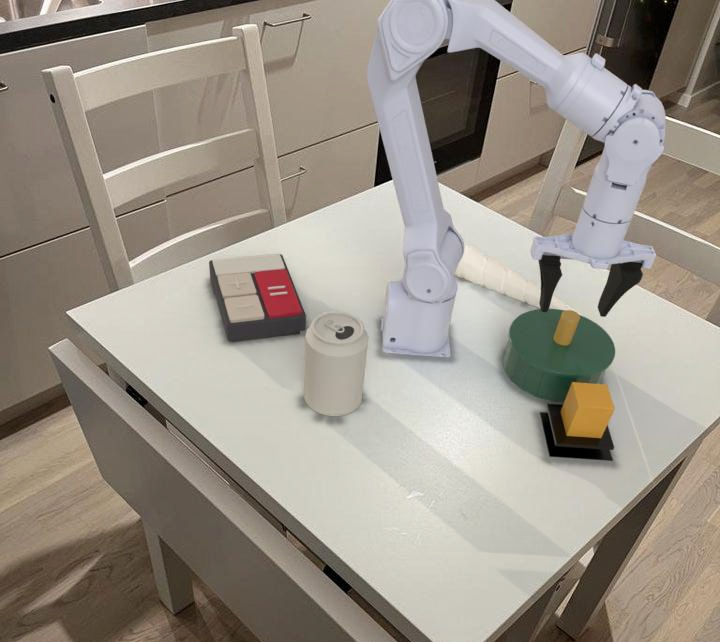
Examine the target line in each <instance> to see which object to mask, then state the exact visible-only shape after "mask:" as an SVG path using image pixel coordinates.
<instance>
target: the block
mask: <svg viewBox="0 0 720 642" xmlns="http://www.w3.org/2000/svg"><path fill="white" fill-rule="evenodd" d="M562 405H563V407H562V409H561V415H562V420H563V424H564V428H565V432H566V436H575V437H589V438H602V435H603V433H604V431H605V429H606V427H607V425H608V426H609V422H610V420H611V418H612V416H613V414H614V411H615V409H616V408H615V405H614V402H613V399H612V396H611V392H610V389H609V386H608V384H604V383H600V384H592V383H578V382H572V384H571V386H570V389H569V391H568V394H567V397H566V399H565V402H563V404H562Z"/></svg>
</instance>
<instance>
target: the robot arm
mask: <svg viewBox="0 0 720 642" xmlns="http://www.w3.org/2000/svg"><path fill="white" fill-rule="evenodd" d="M445 40H449V42H448V47H447V50H446V51H447V53H455V52H461V51H466V50H472V49H477V48H479V49H481V50H483V51H484V52H486V53H487V54H490V55H491V56H493V57H495V58H496V59H498V60H499V61H501V62H503V63H504V64H505V65H507V66H509V67H510V68H512V69H514V70H515V71H516V72H519V73H520V74H521V75H523V76H525V77H527V78H528V79H529V80H531V81H533V82H534V83H536V84H537V85H539V86H541V87H543V89H544V92H545V99H546V105H547V108H549V109H551V110H552V111H554V112H555V113H556V114H558V115H560V117H562V118H564V119H565V120H567V121H568V122H569V123H571V124H572V125H573V126H575V127H576V128H578V129H579V130H581V131H582V132H583V133H585V134H586V135H587V136H589V137H591V138H592V139H594V140H596V141H599V142H601V143H603V144H604V147H603V150H602V153H601V156H600V159H599V161H598V163H597V164H596V166H595V168H594V171H593V174H592V176H591V179H590V183H589V185H588V188H587V191H586V195H585V197H584V200H583V204H582V207H581V210H580V213H579V216H578V220H577V222H576V225H575V229H574V232H573V233H567V234H560V235H558V234H557V235H551V236H534V237H533V240H532V243H531V247H530V250H529V251H530V255H531V259H532V260H535V261H536V260H537V261H538V266H539V275H540V288H541V295H540V302H539V304H540V308H541V312H547V311H548V309H549V307H550V303H551V300H552V296H554V293H555V290H556V288H557V286H558V284H559V282H560V281H561V278H562V277H563V272H562V269H561V267H562V261H561V260H572V261H578V262H581V263H585V264H589V265H590V267H591V268H592V269H597V270H607V269H609V272H608V276H607V280H606V283H605V285H604V288H603V290H602V292H601V295H600V297H599V300H598V303H597V310H598V313H599V316H600V317H602V318H606V317H607V315H608V314H609V312H611V310H612V309H613V307H614V306H615V305H616V304H617V303H618V301H619V300H620V299H621V298H622V297H623V296H624V295H626V293H627V292H628V291H629V290H631V289H632V288H634V287H635V286H637V285H638V284H640V283H641V280H642V279H643V276H644V273H643V271H642V269H648V270H650V269H651V268H652V267H653V264H654V261H655V259H656V258H657V254H656V251H655V249H654V247H653V246H652V245H646V244H639V243H635V242H632V241H628V240H625V238H626V235H627V232H628V230H629V227H630V224H631V222H632V219H633V217H634V214H635V212H636V210H637V206H638V204H639V201H640V198H641V196H642V194H643V191H644V189H645V186H646V183H647V180H648V173H649V171H651V168H652V165H653V164H654V163H655V162H656V161H657V160H658V159H659V158H660V157H661V155H662V154H663V152H664V150H665V146H664V143H665V140H666V122H667V121H666V119H667V118H666V111H665V106H664V105H663V103H662V101H661V100H660V99H659V98H658V97H657V96H656V93H655V92H654V91H652V90H648V89H643V88H642V87H641V86H639V85H638V84H637V83H635V84H633V85H632V86H631V85H629V84H627V83H626V82H625V81H624V80H623V79H621V78H619V77H618V76H616V75H615V74H614V73H612V72H611V71H609V70H608V68H607V69H606V67H605V66H606V58H604V57H603V56H601V54H599V53H594V54H593V56H592V57H590V56H589V55H588V54H586V53H585V52H577V53H572V54H569V55H568V54H567V55H563V54H562V53H561V52H560V51H559V50H557V49H556V48H555V47H553V46H552V45H551V44H549V42H548V41H546V40H545V39H544V38H542V37H541V36H540V35H539V34H537V33H536V32H535V31H533V30H532V29H531V28H530V27H529V26H528V25H526V24H525V23H524V22H523V21H521V19H519V18H517V17H516V16H515V15H514V14H513V13H512V12H510V11H509V10H508V9H506V8H505V7H504V6H503V5H502V4H500V3H499V2H498V1H497V0H390V1H389V2H388V4H387V5H386V7H385V8H384V9H383V11H382V13H381V14H380V16H379V17H378V18H377V28H376V33H375V38H374V42H373V46H372V49H371V53H370V57H369V61H368V65H367V67H366V81H367V84H368V89H369V92H370V96H371V101H372V104H373V109H374V111H375V116H376V120H377V124H378V128H379V132H380V136H381V140H382V143H383V147H384V151H385V155H386V159H387V163H388V167H389V171H390V176H391V178H392V179H391V180H392V184H393V187H394V190H395V194H396V198H397V202H398V206H399V211H400V215H401V219H402V221H403V226H404V229H403V231H404V233H403V242H402V243H403V244H402V255H403V260H404V269H403V273H402V278H401V279H396V280H388V281H387V284H386V291H385V299H384V304H383V305H384V306H383V315H382V317H381V319H380V331H381V332H382V352H383V353H388V354H402V355H412V356H413V355H414V356H428V357H429V356H430V357H441V358H449V357H451V355H452V354H451V346H450V336H449V330H450V326H451V320H452V315H453V311H454V306H455V302H456V296H457V292H458V283H457V280H456V276H455V275H454V274H455V272H456V269H457V266H458V264H459V262H460V261H461V258H462V257H463V254H464V247H465V241H464V239H463V236H462V235H461V234H460V232H459V231H458V230H457V229H456V227H455V226H454V224H453V219H452V215H451V214H450V213H449V212H448V211H447V210H446V209H445V207H444V204H443V199H442V195H441V190H440V185H439V181H438V175H437V172H436V166H435V162H434V157H433V152H432V148H431V143H430V138H429V134H428V130H427V129H428V128H427V125H426V119H425V116H424V111H423V106H422V101H421V97H420V96H421V95H420V92H419V88H418V83H417V78H416V76H417V74H418V72H419V70H420V68H421V67H422V65H423V63H424V62H425V61H426V60H427V59H429V57H431V55H433V54H434V53H435V52H436V51H437V50H438V49H439V48H440V47H441V46H442V44H443V43H444V41H445ZM609 267H610V268H609ZM540 308H539V309H540Z"/></svg>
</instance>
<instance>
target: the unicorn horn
mask: <svg viewBox="0 0 720 642" xmlns="http://www.w3.org/2000/svg"><path fill="white" fill-rule="evenodd" d="M454 277H457V278H460V279H464V280H465V281H467V282H470V283H473V284H476V285H478V286H481V287H485V288H486V289H487V290H488V289H489V290H491V291H494V292H497V293H499V294H502V295H506V297H509V298H512V299H515V300H517V301H520V302H522V303H526V304H528V305H530V306H532V307H535V308H537V309H541V308H540V304H539V302H540V295H541V287H539V286H538V285H536V284H535V283H533V282H531V281H529V280H526V278H525V277H523V276H521V275H520V274H518V273H516V272H515V271H513V270H512V269H510V268H506V266H505V265H503V264H502V263H500V262H498V261H497V260H495V259H493V258H492V257H490V256H488V257H487V254H485V253H483V252H482V251H480V250H478V249H477V248H475V247H474V246H471V245H464V254H463V257H462V258H461V261H460V262H459V264H458V266H457V269H456V272H455V274H454ZM549 309H559V310H572V311H575V312H577V313H578V314H579V315H581V316H584V315H583V314H582V313H580V312H579V311H578V310H576V309H575V308H573V307H571V306H569V305H566V303H565V302H563V300H560V299H559V298H557V297H555V296H554V295H553V296H552V300H551V303H550V307H549Z"/></svg>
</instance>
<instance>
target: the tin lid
mask: <svg viewBox="0 0 720 642" xmlns="http://www.w3.org/2000/svg"><path fill="white" fill-rule="evenodd" d="M577 312H578V311H577ZM577 312H575V311H572V310H559V309H548V311H547V312H541V309H540V308H537V309H532V310H528V311H525V312H523V313H521V314H520V315H518V316H517V317H515V319H514V320H513V321H512V323H511V324H510V327H509V329H508V341H510V344H511V346H512V348H513V349H514V351H515V352H516V353H517V354H518V356H519V357H521V358H522V359H523V360H524V361H525V362H527V363H528V364H530V365H531V366H533V367H535V368H537V369H539V370H541V371H544V372H546V373H549V374H553V375H556V376H561V377H569V378H584V377H590V376H594V375H597V374H599V373H602V372H603V371H605V370H607V369H609V367H610V366H611V365H612V364H613V361H614V359H615V357H616V347H615V343H614V341H613V339H612V337H611V336H610V334H608V332H607V331H606V330H605V329H604V328H603V327H602V326H600V325H599V324H598V323H596V322H595V321H593V320H592V319H590V318H588V317H586V316H584V315H583V316H581V315H579V314H578V313H577ZM605 372H606V371H605Z"/></svg>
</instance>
